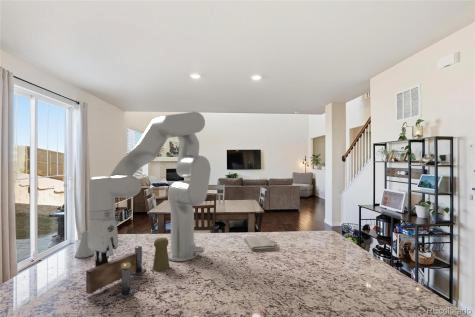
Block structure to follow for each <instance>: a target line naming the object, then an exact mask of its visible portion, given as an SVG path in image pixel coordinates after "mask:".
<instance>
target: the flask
mask: <svg viewBox="0 0 475 317" xmlns="http://www.w3.org/2000/svg"><path fill="white" fill-rule="evenodd" d="M80 234H81V236H80V242H79V244H78V248H77V250H76V252H75V255H74V258H78V259H79V258H80V259H81V258H89V257H91V256H94V252H93V251H91V249H90V248H89V247H88V230H85V231H81V232H80Z"/></svg>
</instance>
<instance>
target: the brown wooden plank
mask: <svg viewBox="0 0 475 317" xmlns="http://www.w3.org/2000/svg"><path fill="white" fill-rule="evenodd" d="M123 263H131V267H130V274H132V273H134V272H136V253H135V252H131V253H127V254H125V255H123V256H120V257H118V258H115V259H112V260H110V261H108V262H107V263H104V264H102V265H99V266H97V267H95V266H94V267H91V268H89V269H87V270H85V293H86V294H88V295H91V294H93V293H95V292H96V291H98V290H100V289H102V288H104V287H106V286H108V285H111V284H113V283H115V282H116V281H119V280H121V264H123Z"/></svg>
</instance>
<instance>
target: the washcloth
mask: <svg viewBox="0 0 475 317" xmlns="http://www.w3.org/2000/svg"><path fill="white" fill-rule="evenodd" d="M243 240H244V242H245V244H246V245H247V247H248V248H249V249H250V251H251V252H252V253H253V252H254V251H255V252H257V253H258V252H259V251H262V252H271V251H272V252H273V251H276V250H277V248H276V247H275V246H276V244H275V242H274V240H272V239H271V238H270V237H269V236H268V235H255V236H245V237H244V238H243ZM259 253H260V252H259Z"/></svg>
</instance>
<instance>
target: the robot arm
mask: <svg viewBox="0 0 475 317" xmlns="http://www.w3.org/2000/svg"><path fill="white" fill-rule="evenodd" d="M205 126H206V120H205V117H204V115H203V114H201V113H200V112H198V111H191V112H184V113H175V114H167V115H161V116H157V117H155V118H153V119H152V120H151V122H150V123H149V124H148V126H147V127H146V129H145V131H144V132H143V133H142V135H141V136H140V138H139V140H138V141H137V143H136V145H134V147H133V148H132V149H131V150H130V151H129V152H128V153H126V154H125V156H124V157H122V158H121V159H120V160H119V162H118V163H117V164H116V166H115V167H114V168H113V170H112V171H111V173H110V175H109V176H94V177H91V178H90V179H89V180H88V181H89V182H88V221H89V222H88V227H87V231H88V247H89V248H90V249H91V251H93V252H94V254H93V256H94V260H95V266H94V267H97V266H99V265H102V264H104V263H107V262H109V258H110V257H111V256H113V255H114V250H117V249H118V247H119V240H118V239H119V237H118V234H119V233H118V225H117V220H116V198H133V197H135V196H137V195H138V194H140V193H141V190H142V183H141V180H140V179H139V178H137V177H136V176H134V175H135V174H136V173H137V172H138V171H139V170H140V169H141V168H142V167H144V166H146V165H147V164H150V163H151V162H153V161H155V159H156V158H157V157H158V156H159V154H160V152H161V151H162V150H163V149H162V148H163V147H164V145H165V143H166V142H167V140H168V139H169V138H176V137H177V138H178V141H179V147H178V148H179V150H178V155H177V162H176V168H175V171H176V174H177V175H178V176H179V177H180V178H185V179H189V180H178V181H174V182H173V183H172V184H171V185H170V186H169V188H168V201H169V204H170V206H169V207H170V251H169V252H168V259H169V261H173V262H186V261H191V260H193V259H195V258H196V257H198V253H199V254H200V253H201V254H203V253H205V248H204V247H203V246H197V244H196V242H195V214H194V207H193V206H195V207H197V206H201V205H202V204H203V203H204V202H205V201H206V199H207V196H208V191H209V184H210V178H211V177H210V176H211V171H212V170H211V163H210V161H209V159H208V158H207V157H205V156H203V155H200V141H199V139H198V137H197V135H196V134H197V133H201V131H202V130H203V129H205Z"/></svg>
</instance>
